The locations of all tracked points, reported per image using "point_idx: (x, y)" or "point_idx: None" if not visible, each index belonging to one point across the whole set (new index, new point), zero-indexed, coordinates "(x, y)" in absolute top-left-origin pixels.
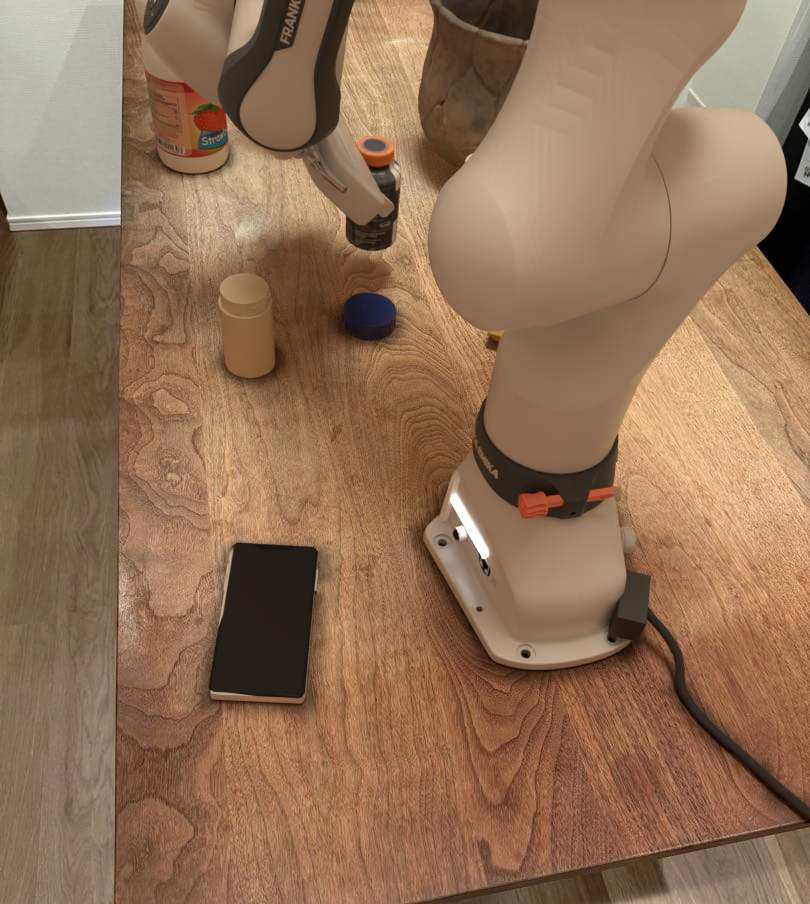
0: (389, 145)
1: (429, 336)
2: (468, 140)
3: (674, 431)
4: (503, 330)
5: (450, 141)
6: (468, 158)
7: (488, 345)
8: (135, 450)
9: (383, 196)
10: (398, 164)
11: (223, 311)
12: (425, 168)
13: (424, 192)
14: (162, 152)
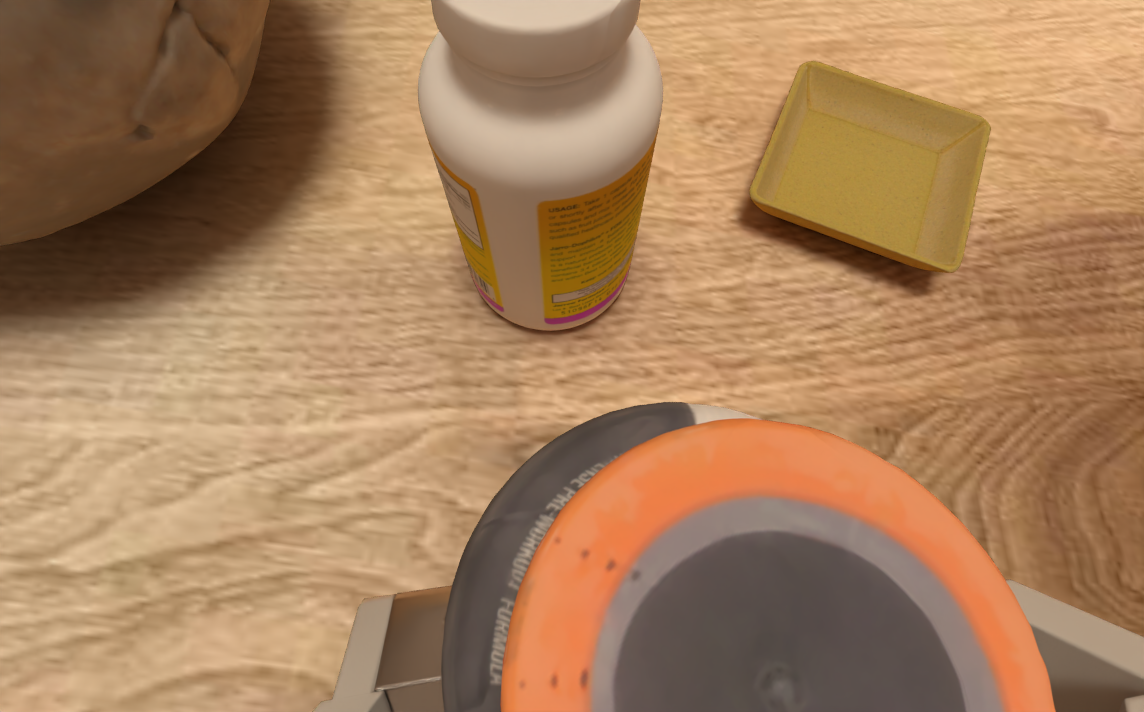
0: (770, 479)
1: (904, 438)
2: (121, 68)
3: (1116, 4)
4: (874, 238)
5: (67, 148)
6: (485, 10)
7: (916, 287)
8: None
9: (1075, 609)
10: (671, 412)
11: None
12: (41, 306)
13: (176, 332)
14: None
